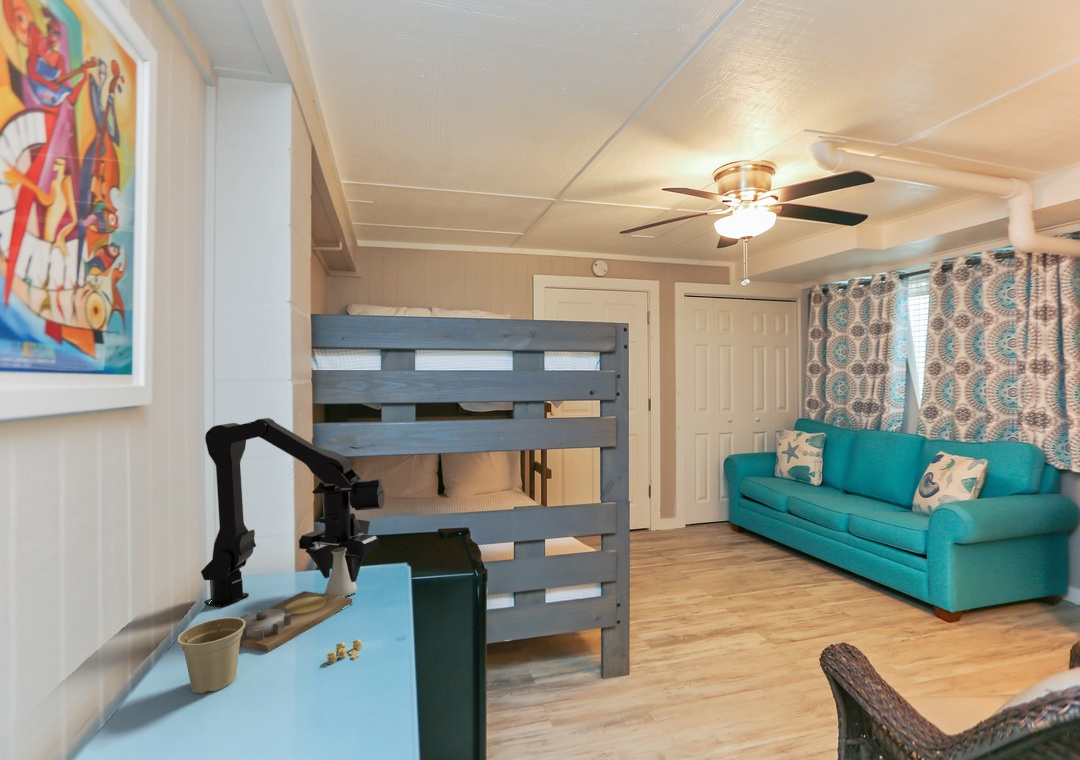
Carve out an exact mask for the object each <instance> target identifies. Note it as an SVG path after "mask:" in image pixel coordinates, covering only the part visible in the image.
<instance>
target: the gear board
mask: <svg viewBox="0 0 1080 760" xmlns="http://www.w3.org/2000/svg"><path fill="white" fill-rule="evenodd" d="M351 603H352V604H353V598H350V597H339V596H332V595H326V594H325V593H318V592H311V591H305V590H304V591H301V592H299V593H297V594H295V595H293V596H292V597H289V598H287V599H285V600H283V601H281V602H279V603H277V604H275V605H273V606H270V607H267V608H263V609H260V610H259V611H255V612H252V613H249V614H244V615H242V616H239V618H241V619H243V620H244V621H245V627H244V629H243V632H242V636H241V637H240V645H239V647H244V648H248V649H252V650H257V651H262V652H265V653H269V652H272V651H273V650H275V649H277V648H279V647H281V646H282V645H284V644H285V643H287V642H289V641H290V640H292V639H294V638H295V637H297V636H299V635H301V634H303V633H304V632H307V631H308V630H309V629H312V628H313V627H315V626H317V625H319V624H320V623H322V622H324V621H326V620H327V619H329V618H330V616H331V617H332V615H333V614H334V613H336V612H338V611H339V610H341V609H342V608H344V607H345V606H347V605H349V604H351ZM341 611H342V610H341ZM338 613H339V612H338ZM336 614H337V613H336ZM334 615H335V614H334ZM334 615H333V616H334Z"/></svg>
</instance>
